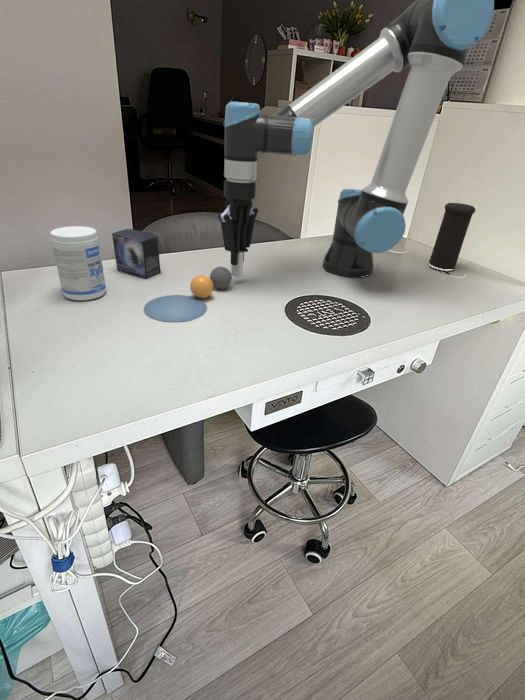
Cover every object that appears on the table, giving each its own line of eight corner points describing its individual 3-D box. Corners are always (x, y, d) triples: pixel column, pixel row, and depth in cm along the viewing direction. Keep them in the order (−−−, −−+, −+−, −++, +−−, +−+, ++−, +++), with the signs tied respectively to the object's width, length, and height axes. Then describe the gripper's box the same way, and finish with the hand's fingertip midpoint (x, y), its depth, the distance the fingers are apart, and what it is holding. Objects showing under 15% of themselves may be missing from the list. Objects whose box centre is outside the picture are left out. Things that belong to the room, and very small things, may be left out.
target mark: (219, 307, 90) (219, 306, 90) (174, 328, 80) (174, 327, 80) (176, 291, 97) (176, 290, 97) (130, 308, 87) (130, 307, 87)
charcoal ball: (221, 269, 95) (219, 291, 96) (237, 268, 99) (235, 289, 100) (206, 265, 98) (204, 286, 100) (222, 264, 102) (220, 285, 104)
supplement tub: (104, 301, 89) (94, 237, 82) (59, 303, 87) (44, 237, 79) (108, 285, 97) (99, 225, 90) (67, 286, 95) (54, 225, 87)
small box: (115, 271, 106) (109, 232, 100) (132, 265, 111) (128, 227, 105) (145, 280, 102) (141, 240, 97) (161, 273, 107) (158, 234, 102)
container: (457, 267, 129) (478, 204, 118) (452, 274, 122) (474, 208, 112) (430, 261, 132) (448, 199, 122) (424, 268, 126) (443, 203, 115)
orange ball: (221, 284, 95) (209, 274, 90) (211, 304, 94) (198, 295, 89) (204, 278, 97) (192, 268, 92) (194, 297, 97) (181, 289, 92)
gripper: (244, 175, 98) (241, 266, 110) (209, 179, 88) (209, 278, 100) (269, 180, 94) (262, 273, 106) (234, 184, 85) (231, 286, 97)
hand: (236, 275), depth 103 cm, fingers closed
